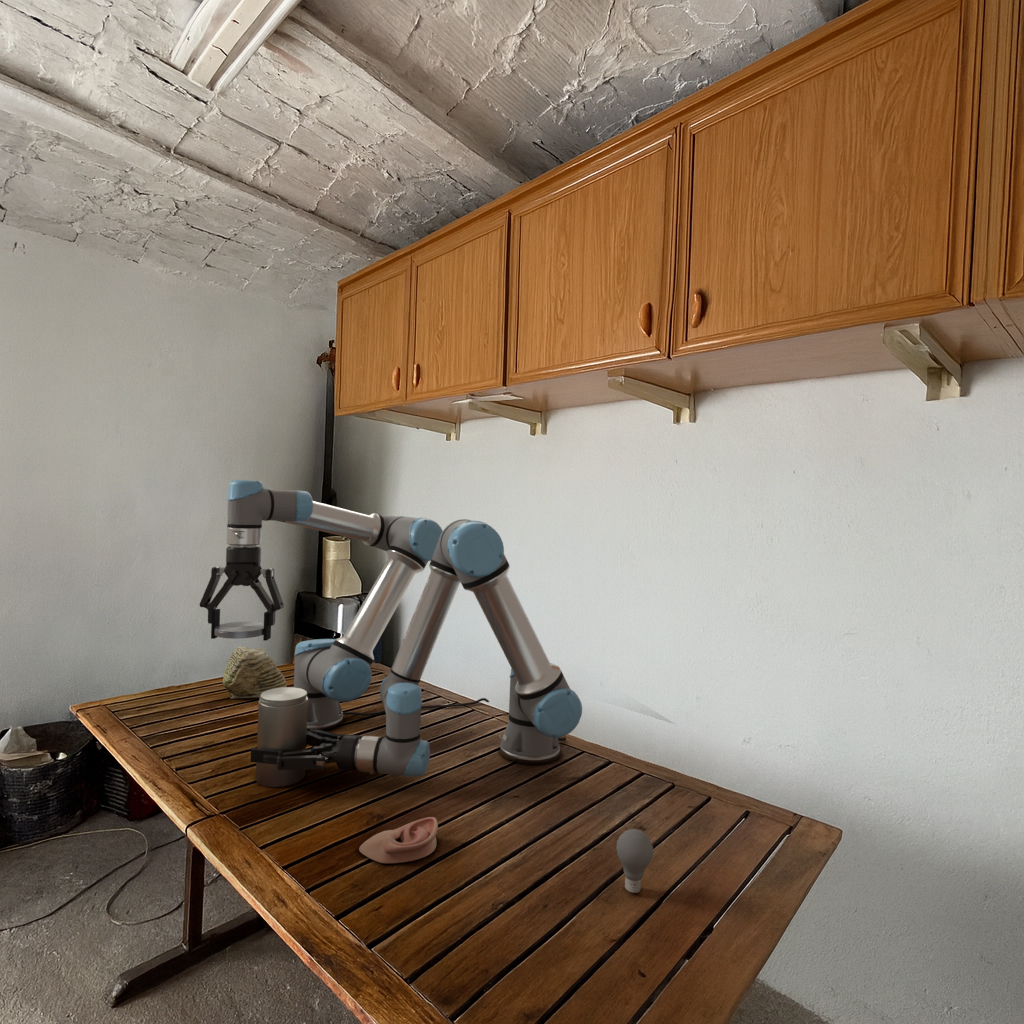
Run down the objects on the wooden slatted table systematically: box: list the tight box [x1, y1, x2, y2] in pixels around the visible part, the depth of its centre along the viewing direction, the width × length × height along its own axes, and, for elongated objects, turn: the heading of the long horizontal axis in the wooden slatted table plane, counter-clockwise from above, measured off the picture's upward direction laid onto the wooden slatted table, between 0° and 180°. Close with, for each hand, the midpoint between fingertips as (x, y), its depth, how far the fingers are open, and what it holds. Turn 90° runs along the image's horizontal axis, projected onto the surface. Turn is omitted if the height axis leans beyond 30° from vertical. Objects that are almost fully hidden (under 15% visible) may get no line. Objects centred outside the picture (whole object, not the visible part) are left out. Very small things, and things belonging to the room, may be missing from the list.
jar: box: [255, 686, 308, 788], centre depth 142 cm, size 10×10×19 cm
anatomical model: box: [358, 816, 439, 864], centre depth 116 cm, size 13×4×12 cm
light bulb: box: [615, 828, 654, 894], centre depth 106 cm, size 6×6×10 cm
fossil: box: [222, 646, 288, 699], centre depth 198 cm, size 9×18×15 cm, turn 132°
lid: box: [215, 621, 264, 640], centre depth 149 cm, size 11×11×2 cm
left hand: (241, 638), depth 149 cm, fingers closed on lid, 11 cm apart
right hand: (264, 745), depth 143 cm, fingers closed on jar, 10 cm apart
